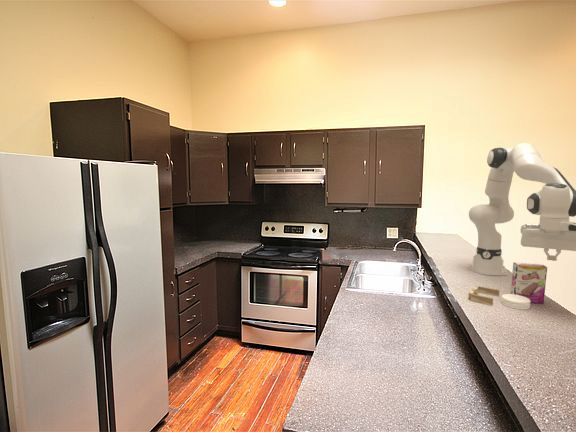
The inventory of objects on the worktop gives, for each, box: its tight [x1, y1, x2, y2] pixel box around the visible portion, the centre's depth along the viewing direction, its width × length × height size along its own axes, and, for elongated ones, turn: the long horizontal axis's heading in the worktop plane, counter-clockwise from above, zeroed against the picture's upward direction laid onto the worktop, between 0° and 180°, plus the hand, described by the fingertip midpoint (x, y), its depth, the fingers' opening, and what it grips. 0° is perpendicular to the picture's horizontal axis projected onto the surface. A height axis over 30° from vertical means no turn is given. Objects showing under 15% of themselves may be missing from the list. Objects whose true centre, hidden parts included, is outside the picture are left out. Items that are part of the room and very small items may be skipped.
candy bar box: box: [510, 262, 548, 305], centre depth 138 cm, size 11×5×16 cm, turn 71°
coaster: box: [500, 293, 531, 311], centre depth 134 cm, size 10×10×4 cm
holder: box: [467, 285, 500, 306], centre depth 141 cm, size 15×9×3 cm, turn 137°
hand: (551, 260), depth 125 cm, fingers closed
